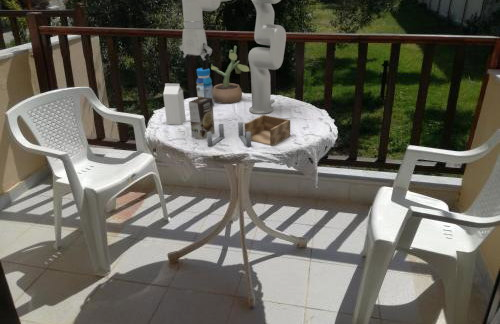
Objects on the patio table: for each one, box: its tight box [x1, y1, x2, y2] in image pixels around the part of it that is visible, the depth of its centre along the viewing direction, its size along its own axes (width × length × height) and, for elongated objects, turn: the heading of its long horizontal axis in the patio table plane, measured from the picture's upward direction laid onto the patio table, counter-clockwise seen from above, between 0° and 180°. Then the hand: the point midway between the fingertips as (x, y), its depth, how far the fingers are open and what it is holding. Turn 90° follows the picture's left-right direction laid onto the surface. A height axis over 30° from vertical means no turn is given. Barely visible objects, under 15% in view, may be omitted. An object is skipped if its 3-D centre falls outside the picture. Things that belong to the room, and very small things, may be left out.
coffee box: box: [188, 97, 216, 140], centre depth 185 cm, size 9×6×16 cm
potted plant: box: [210, 45, 251, 104], centre depth 229 cm, size 22×18×30 cm
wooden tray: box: [243, 114, 291, 147], centre depth 181 cm, size 14×14×7 cm
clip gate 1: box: [206, 123, 225, 148], centre depth 179 cm, size 12×2×6 cm, turn 155°
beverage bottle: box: [195, 67, 215, 106], centre depth 223 cm, size 8×8×20 cm
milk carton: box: [162, 83, 187, 126], centre depth 201 cm, size 7×7×19 cm
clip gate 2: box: [237, 121, 252, 148], centre depth 179 cm, size 2×14×6 cm, turn 17°
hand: (196, 68), depth 177 cm, fingers open, 9 cm apart
